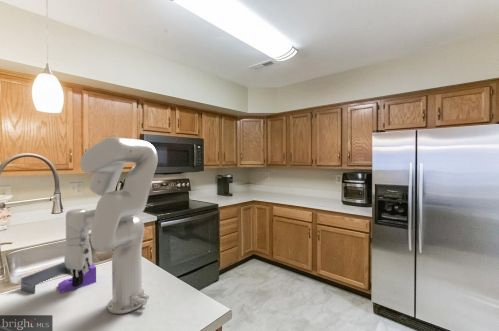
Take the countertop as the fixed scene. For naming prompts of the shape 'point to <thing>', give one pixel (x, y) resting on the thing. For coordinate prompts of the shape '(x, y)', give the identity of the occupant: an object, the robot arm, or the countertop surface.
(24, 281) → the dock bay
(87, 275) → the bracket
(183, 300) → the countertop surface
